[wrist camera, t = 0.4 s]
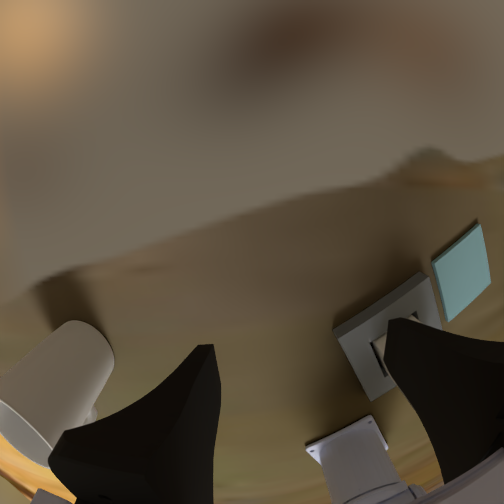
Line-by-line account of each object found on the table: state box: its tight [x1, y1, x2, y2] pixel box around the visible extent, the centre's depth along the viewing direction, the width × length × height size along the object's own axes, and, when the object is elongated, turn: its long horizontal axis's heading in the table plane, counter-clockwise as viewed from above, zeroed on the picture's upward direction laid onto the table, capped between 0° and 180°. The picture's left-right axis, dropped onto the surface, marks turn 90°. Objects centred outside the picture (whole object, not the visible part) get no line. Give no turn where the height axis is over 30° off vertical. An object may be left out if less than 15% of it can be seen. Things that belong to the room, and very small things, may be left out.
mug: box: [0, 320, 114, 469], centre depth 16 cm, size 10×7×12 cm, turn 5°
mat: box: [431, 224, 491, 322], centre depth 21 cm, size 7×7×1 cm
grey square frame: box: [332, 272, 442, 402], centre depth 21 cm, size 9×9×2 cm
